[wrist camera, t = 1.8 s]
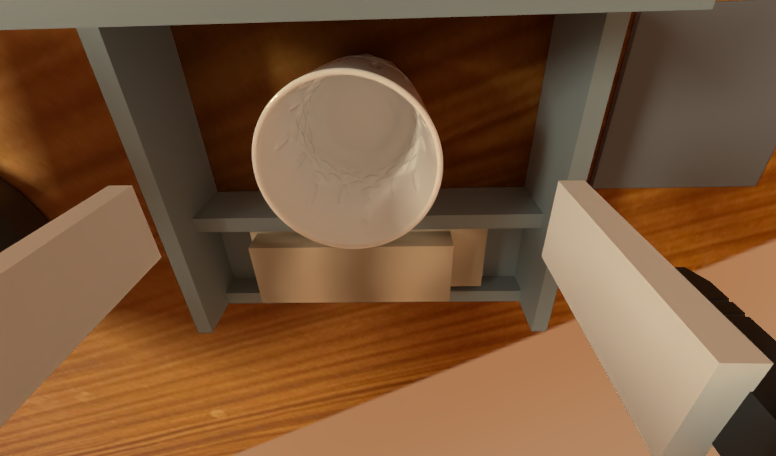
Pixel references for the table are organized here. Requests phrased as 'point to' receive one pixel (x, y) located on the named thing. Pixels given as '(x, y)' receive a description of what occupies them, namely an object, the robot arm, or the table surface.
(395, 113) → the white cup
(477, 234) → the block
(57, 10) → the rack
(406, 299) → the upper offcut
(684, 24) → the mat
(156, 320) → the table surface
